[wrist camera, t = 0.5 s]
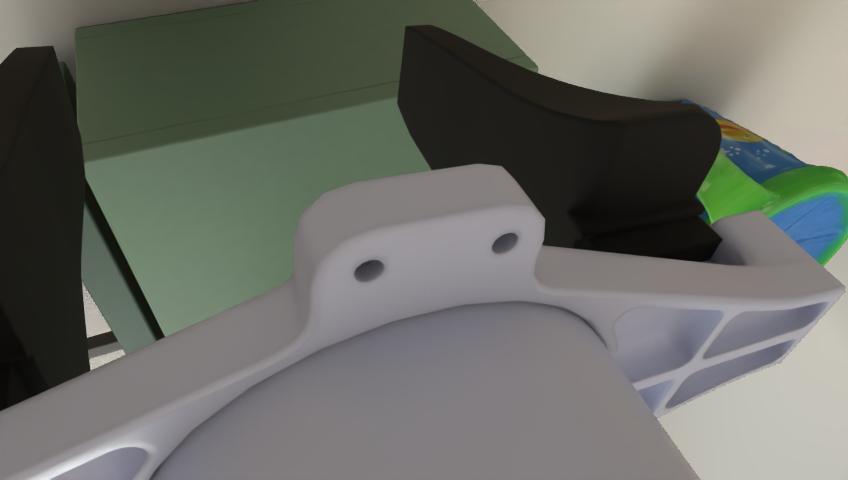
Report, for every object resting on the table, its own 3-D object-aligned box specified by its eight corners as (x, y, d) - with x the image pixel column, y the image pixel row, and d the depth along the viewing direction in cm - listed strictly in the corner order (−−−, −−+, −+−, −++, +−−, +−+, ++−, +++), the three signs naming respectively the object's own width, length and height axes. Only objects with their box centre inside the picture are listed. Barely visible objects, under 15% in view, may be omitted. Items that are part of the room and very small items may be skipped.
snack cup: (535, 127, 32) (653, 262, 26) (708, -2, 31) (881, 108, 24) (607, 255, 44) (701, 369, 38) (735, 167, 43) (856, 271, 36)
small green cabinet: (181, 285, 30) (204, 416, 26) (73, 27, 21) (77, 162, 16) (434, 217, 34) (495, 320, 29) (444, -29, 24) (539, 66, 19)
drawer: (34, 330, 28) (30, 444, 24) (-145, 94, 19) (-196, 218, 15) (392, 233, 32) (434, 316, 29) (386, 6, 23) (446, 85, 20)
